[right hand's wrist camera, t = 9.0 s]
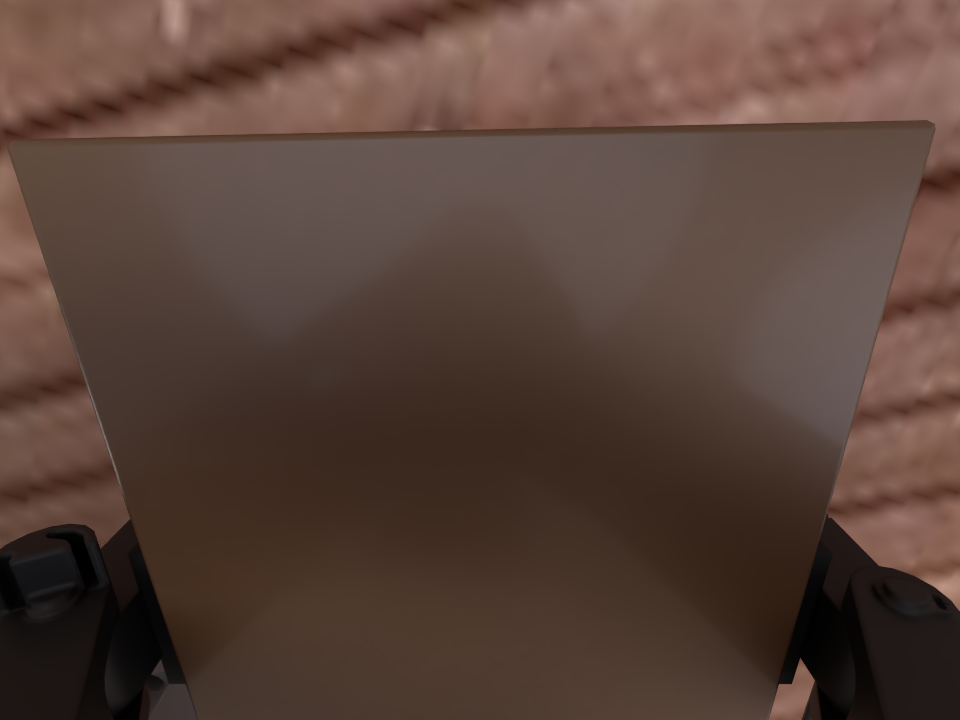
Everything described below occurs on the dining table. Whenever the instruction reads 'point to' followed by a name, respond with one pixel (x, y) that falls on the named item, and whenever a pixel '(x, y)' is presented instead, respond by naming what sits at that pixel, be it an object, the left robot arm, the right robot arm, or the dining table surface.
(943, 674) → the right robot arm
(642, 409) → the thick board
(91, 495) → the dining table surface
